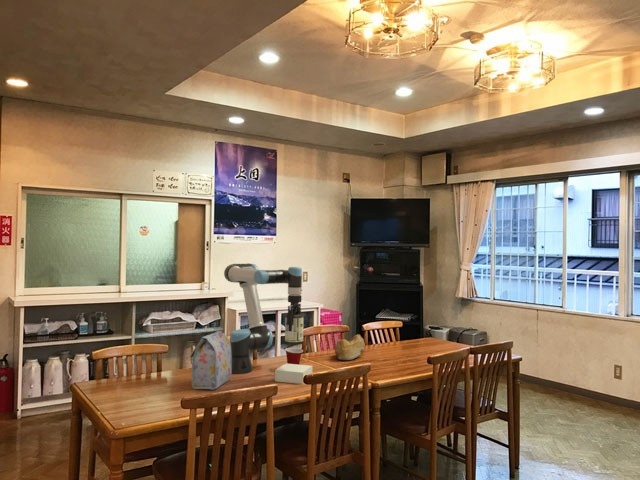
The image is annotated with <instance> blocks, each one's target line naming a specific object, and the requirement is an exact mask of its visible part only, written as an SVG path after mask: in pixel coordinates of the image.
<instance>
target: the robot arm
mask: <svg viewBox="0 0 640 480" xmlns="http://www.w3.org/2000/svg"><path fill="white" fill-rule="evenodd" d="M223 276H224V278H225V280H226V281H228V282H229V283H233V284H234V283H239V284H238V285H239V287H240V288H241V289H242V292H243V296H244V297H243V299H244V302H245V308H246V314H247V318H248V322H249V323H248V324H249V327H248V328H240V329H235V330H233V331H231V333H230V334H229V335H230V336H229V340H230V343H231V354H232V374H248V373H252V372H253V369H254V367H253V363H252V361H251V354H250V353H251V352H254V351H259V350H265V349H269V348H270V347H271V346H272V344H273V340H274V335H273V334H274V333H273V332H272V330H271V329H269V328H268V325H267V324H266V323H265V322H264V318H263V313H262V307H261V302H260V297H259V293H258V287H257V286H258V285H271V284H273V285H275V284H286V285H288V286H287V294H288V295H287V302H288V303H290V305H288V306H287V314H288V315H287V323H286V325H288V337H293V318H292V316H294V315H295V314H297V315H299V314H302V308H301V306H302V304H301V303H302V291H303V289H302V287H303V286H302V285H303V278H302V277H303V272H302V267H300V266H290V267H288V269H272V270H271V269H269V270H268V269H267V270H266V269H260V268H259V267H258V265H256V264H255V263H251V262H249V263H231V264H229V265H227V266H226V267H225V268H224V271H223Z"/></svg>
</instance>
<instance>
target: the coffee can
mask: <svg viewBox="0 0 640 480" xmlns="http://www.w3.org/2000/svg"><path fill="white" fill-rule="evenodd" d="M287 315H288V313H287V314H284V317H285V318H284V321H285V323H284V341H285V342H287V343H300V342H304V317H305V315H304V314H302V313H301V314H299V315H297V314H295V315H294V316H292V318H293V337H288V325H286V323H287Z"/></svg>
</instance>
